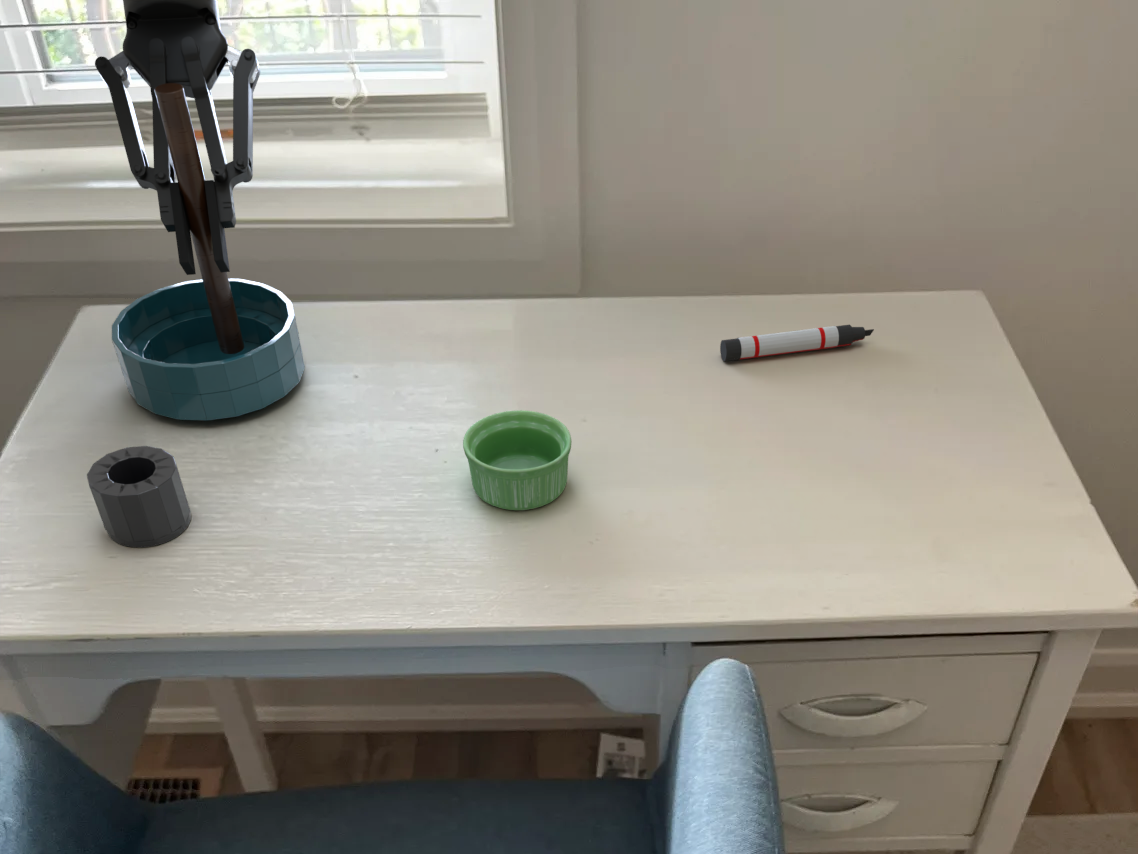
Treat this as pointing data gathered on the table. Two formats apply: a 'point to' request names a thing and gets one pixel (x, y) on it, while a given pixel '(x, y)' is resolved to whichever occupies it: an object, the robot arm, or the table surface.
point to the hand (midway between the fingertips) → (204, 267)
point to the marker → (791, 342)
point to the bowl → (207, 351)
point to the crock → (139, 496)
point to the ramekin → (518, 458)
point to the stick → (198, 213)
